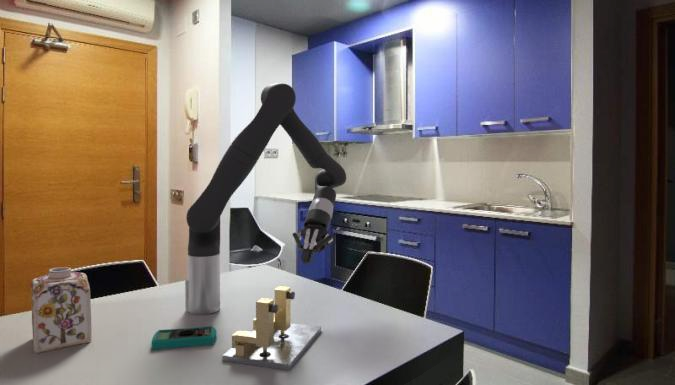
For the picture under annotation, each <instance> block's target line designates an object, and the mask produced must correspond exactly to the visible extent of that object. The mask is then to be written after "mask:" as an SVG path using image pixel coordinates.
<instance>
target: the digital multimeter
mask: <svg viewBox="0 0 675 385" xmlns="http://www.w3.org/2000/svg"><path fill="white" fill-rule="evenodd" d="M217 334H218V333H217V330H216V328H215V326H214V325H211V326H200V327H187V328H185V327H184V328H175V329H174V328H172V329H169V328H167V329H159V330H157V331H156V332H155V333H154V335H153V337H152V339H151V350H152V351H159V350H167V349H168V350H169V349H177V348H190V347H201V346H202V347H205V346H213V345H214V344H215V343H216V341H217Z"/></svg>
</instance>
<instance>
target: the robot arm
mask: <svg viewBox="0 0 675 385" xmlns="http://www.w3.org/2000/svg"><path fill="white" fill-rule="evenodd" d="M296 99H297V96H296V92H295V89H294V88H293V87H292V86H291V85H289V84H287V83H284V82H283V83H282V82H279V83H278V82H276V83H272V84H268V85H267V86H265V87H264V88H263V89H262V91H261V93H260V102H261V106H260V108H259V109H258V112H257V113H256V115H255V116H254V117H253V119H251V121H250V122H249V124H247V125H246V126H245V127H244V128H243V129H242V130H241V131H240V133H238V134H237V136H236V137H234V139H233V141H232V142H231V144H230V145H229V146H228V148H227V150H226V151H225V153H224V154H223V156H222V158H221V160H220V161H219V163H218V165H217V166H216V169H215V172H214V173H213V175H212V178H211V180H210V181H209V183H208V185H207V186H206V187H205V189H204V190H203V191H202V193H201V194H200V195H199V197H198V198H196V200H195V202H193V204H192V205H191V206H190V207H189V208H188V210H187V212H186V218H185V219H186V223H187V226H188V245H187V265H188V266H187V277H188V278H186V279H185V281H184V284H185V286H184V290H185V291H184V292H185V294H184V295H185V303H184V304H185V312H188V313H190V314H192V315H202V316H203V315H210V314H214V313H217V312H219V311H220V310H221V216H222V213H223V212H224V210H225V208H226V206H227V205H228V202H229V200H230V199H231V197H232V196H233V195H234V193H235V192H236V190H238V188H239V187H240V186H241V185H242V184H243V183H244V182H245V180H246V179H247V178H248V176H249V175H250V174H251V172H252V170H253V169H254V167H255V166H256V164H257V163H258V161H259V159H260V157H261V156H262V154H263V152H264V151H265V149H266V147H267V145H269V143H270V140H271V138H272V136H273V135H274V133H275V132H276V131H277V129H278V128H279V126H281V127H282V128H283V131H285V133H286V134H287V135H288V136H289V138H290V139H291V140H292V142H293V143H294V145H295V147H296V148H297V149H298V151H299V152H300V154H301V155H302V156H303V157H302V158H304V159H305V161H306V163H307V164H308V165H309V167H311V169H321V170H319V171H318V172H317V173H316V174H315V177H314V195H313V198H312V202H311V203H310V205H309V208H308V211H307V214H306V217H305V220H304V223H303V227H302V228H301V229H300V231H299V232H297V233H296V232H293V233H292V237H293V239H294V242H295V244H296V246H297V247H298V250H299V251H300V252H302V253H301V257H300V258H301V262H302V263H303V264H304V265H309V264H310V263H312V260H313V257H314V255H315V253H318V254H319V253H322V252H323V251H324V250H326V249H327V248H328V247H329V246H330V245H332V244H333V243H334V239H333V236H332V234H329V231H328V230H329V228H330V225H331V220H332V218H333V214H334V211H333V210H334V207H335V203H336V198H337V193H336V191H335V188H338V187H342V186H343V185H344V184H345V183H346V182H347V173H346V171H345V168H343V166H342V165H341V164H340V163H338V162H337V161H336V160H335V159H334V158H333V157H332V156H331V155H329V153H327V151H326V150H325V148H324V147H323V144H321V142H320V141H319V139H318V138H317V136H316V135H315V134H314V133H313V132H312V131H311V130H310V129H309V128H308V127H307V125H306V124H305V123H304V122H303V121H302V119H301V118H300V117H299V116H298V114H297V113H296V111H295V109H294V107H295V105H296V101H297V100H296ZM302 238H303V240H304V244H303V243H302V241H301V240H302Z"/></svg>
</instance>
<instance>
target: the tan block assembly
mask: <svg viewBox="0 0 675 385" xmlns="http://www.w3.org/2000/svg"><path fill="white" fill-rule="evenodd" d="M278 309H279V306H278V305H276V304H275V298H265V297H261V298H260V299H258V300H257V301H256V302H255V318H256V329H255V330H254V331H253V330H252V331H253V332H252V331H247V330H237V331H236V332H234V333H233V334H231V348H235V351H236V356H238V357H245V356H246V355H247V354H248V353H249V352H250V351H251V350H252V349H253V348H255V347H256V346H258V347H263V355H267V348H269V347H270V346H271V345H272V344H273V343H274V330H275V327H274V318H275V313H277V312H278Z"/></svg>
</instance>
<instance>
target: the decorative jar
mask: <svg viewBox="0 0 675 385" xmlns="http://www.w3.org/2000/svg"><path fill="white" fill-rule="evenodd" d="M30 289H31V328H32V343H33V351H34V352H35V353H36V354H40V353H44V352H49V351H53V350H58V349H64V348H68V347H73V346H78V345H82V344H87V343H91V342H92V337H93V336H92V335H93V334H92V330H93V329H92V326H93V325H92V307H91V305H92V302H91V288H90V282H89V279H88V276H87V274H86V273H84V272H79V271H78V272H77V271H72V268H71V267H68V266H67V267H65V266H61V267H60V266H59V267H54V268H53V267H52V268H50V269H49V270H48V274H44V275H42V276H39V277H36V278H33V279H32V280H31V284H30Z"/></svg>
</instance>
